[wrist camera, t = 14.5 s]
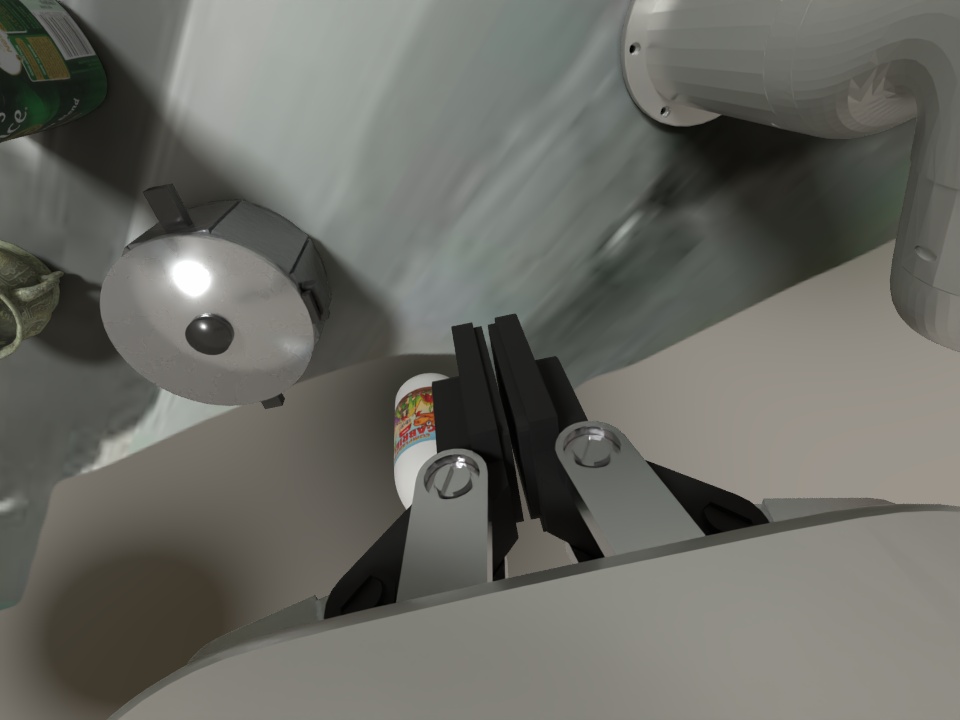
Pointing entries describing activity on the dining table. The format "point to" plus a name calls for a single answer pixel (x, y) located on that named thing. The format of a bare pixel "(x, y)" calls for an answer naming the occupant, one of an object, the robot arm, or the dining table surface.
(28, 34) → the coffee jar
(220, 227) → the pot
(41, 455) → the dining table surface
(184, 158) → the dining table surface
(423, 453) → the milk bottle
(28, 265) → the vessel
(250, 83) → the dining table surface
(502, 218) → the dining table surface
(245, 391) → the lid
